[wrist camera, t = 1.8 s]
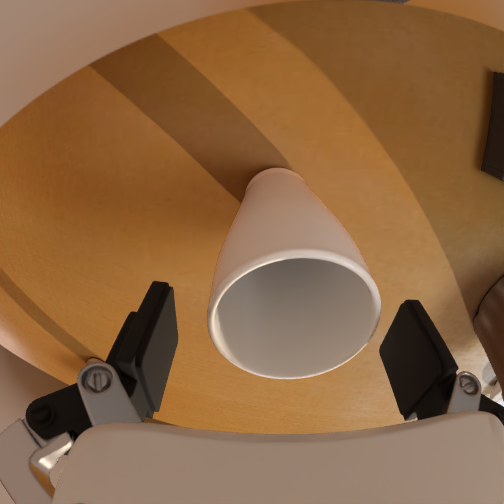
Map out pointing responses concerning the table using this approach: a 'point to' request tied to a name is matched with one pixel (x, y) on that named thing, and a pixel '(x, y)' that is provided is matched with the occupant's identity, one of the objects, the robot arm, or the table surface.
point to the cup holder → (496, 132)
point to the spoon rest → (496, 393)
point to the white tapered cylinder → (290, 284)
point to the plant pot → (493, 329)
